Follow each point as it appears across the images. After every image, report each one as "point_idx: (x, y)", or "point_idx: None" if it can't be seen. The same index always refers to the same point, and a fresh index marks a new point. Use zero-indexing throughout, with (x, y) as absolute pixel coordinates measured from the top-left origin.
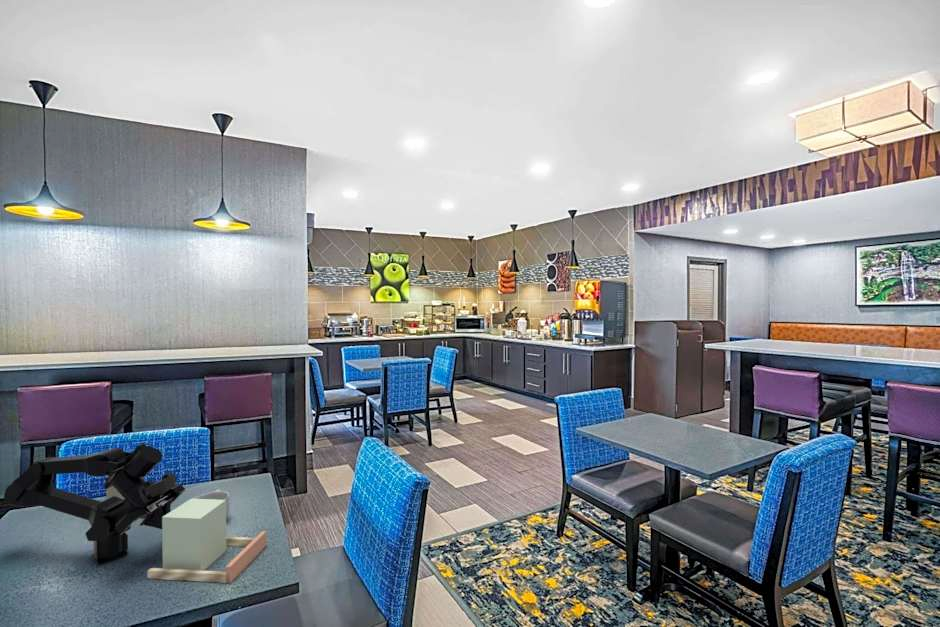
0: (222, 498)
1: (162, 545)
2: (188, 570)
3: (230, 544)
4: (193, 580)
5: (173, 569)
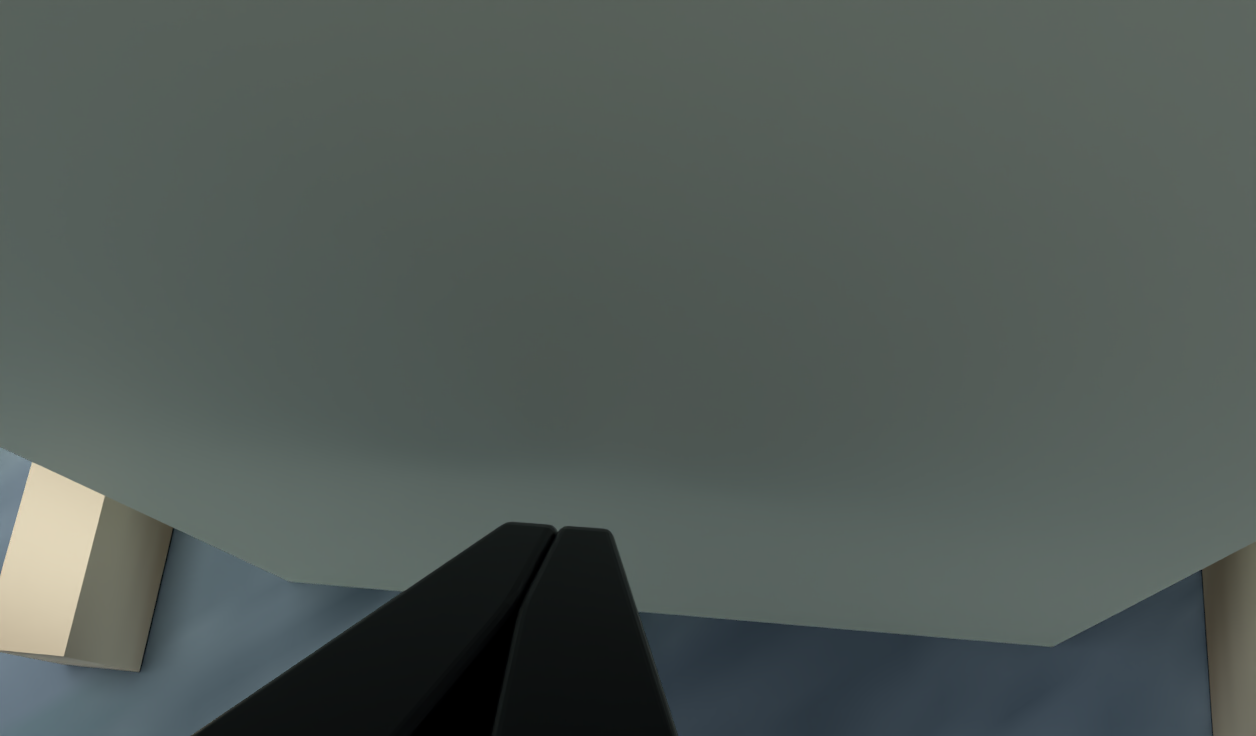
0: None
1: (1243, 547)
2: None
3: None
4: None
5: None
